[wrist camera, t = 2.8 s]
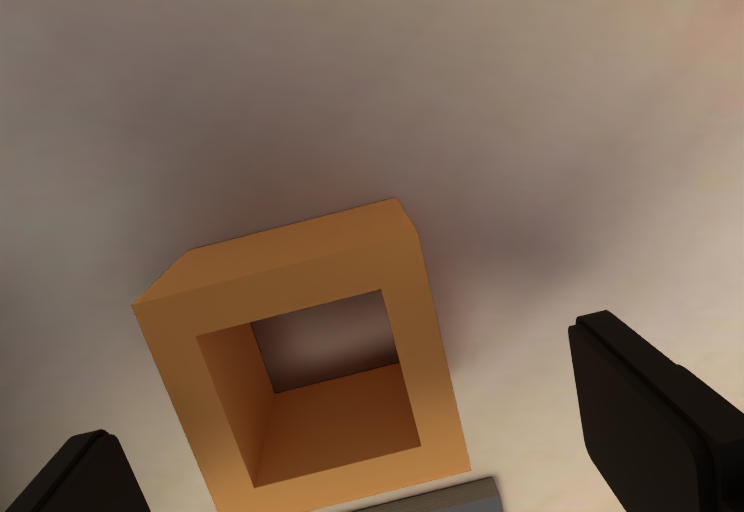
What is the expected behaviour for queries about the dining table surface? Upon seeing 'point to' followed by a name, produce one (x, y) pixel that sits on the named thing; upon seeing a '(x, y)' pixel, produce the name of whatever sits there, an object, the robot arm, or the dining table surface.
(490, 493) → the keeper plate
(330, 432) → the orange square collar
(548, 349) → the dining table surface
